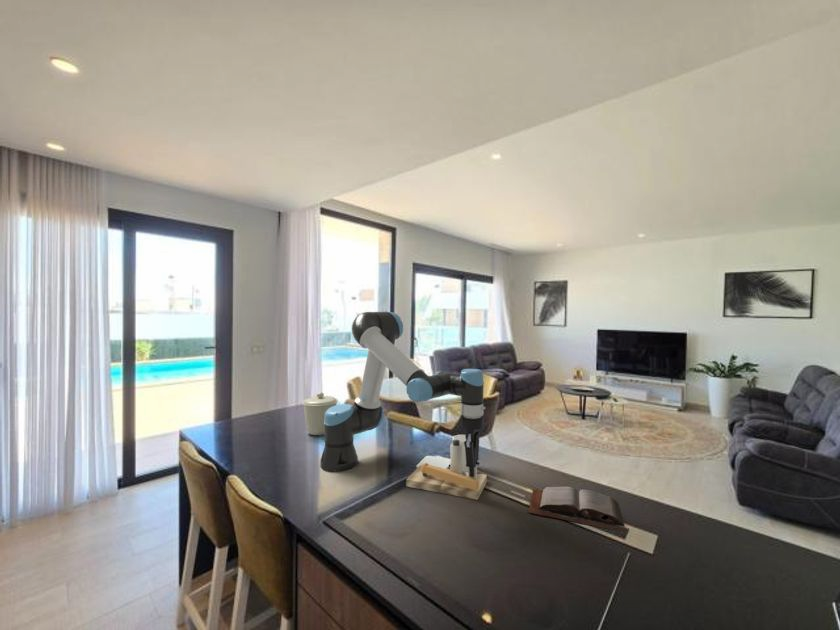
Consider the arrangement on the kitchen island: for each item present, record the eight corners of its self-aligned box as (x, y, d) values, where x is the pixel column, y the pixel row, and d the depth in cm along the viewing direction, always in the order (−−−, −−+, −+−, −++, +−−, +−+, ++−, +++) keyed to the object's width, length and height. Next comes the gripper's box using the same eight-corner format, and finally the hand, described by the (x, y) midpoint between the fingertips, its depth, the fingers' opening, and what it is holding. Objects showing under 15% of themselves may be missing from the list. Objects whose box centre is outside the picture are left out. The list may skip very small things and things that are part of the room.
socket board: (406, 486, 132) (406, 475, 132) (421, 470, 145) (420, 461, 145) (477, 499, 122) (477, 488, 122) (486, 481, 135) (486, 471, 135)
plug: (445, 485, 133) (444, 442, 133) (450, 477, 139) (450, 436, 139) (462, 488, 130) (462, 444, 130) (467, 480, 136) (467, 438, 136)
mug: (461, 477, 139) (460, 445, 139) (443, 471, 145) (442, 440, 145) (477, 467, 148) (477, 437, 148) (460, 461, 154) (459, 432, 154)
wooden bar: (419, 471, 135) (419, 464, 135) (424, 469, 137) (424, 462, 137) (475, 490, 120) (475, 482, 120) (479, 487, 122) (479, 479, 122)
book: (631, 537, 103) (631, 520, 103) (527, 514, 113) (528, 499, 114) (622, 506, 121) (622, 492, 122) (533, 489, 132) (533, 477, 132)
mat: (416, 467, 148) (415, 466, 148) (426, 456, 159) (426, 455, 159) (444, 472, 144) (444, 470, 144) (453, 460, 155) (453, 459, 155)
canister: (333, 438, 184) (333, 396, 184) (297, 438, 184) (297, 396, 184) (341, 427, 202) (341, 388, 202) (308, 427, 202) (308, 388, 202)
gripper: (479, 422, 117) (479, 495, 118) (487, 411, 129) (487, 478, 130) (456, 419, 120) (456, 491, 120) (466, 409, 132) (466, 474, 132)
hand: (472, 484), depth 125 cm, fingers closed
